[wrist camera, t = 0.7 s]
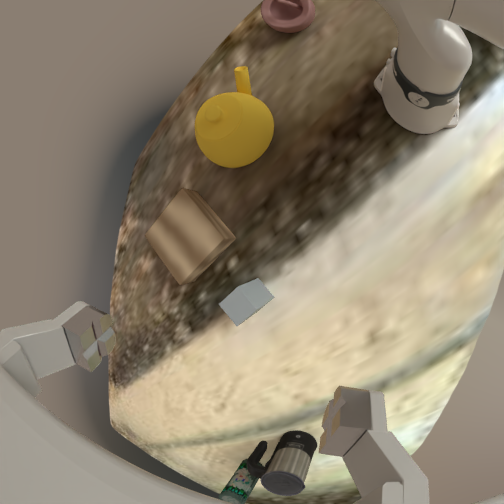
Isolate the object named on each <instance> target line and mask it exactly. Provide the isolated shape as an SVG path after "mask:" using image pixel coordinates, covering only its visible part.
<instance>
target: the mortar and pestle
mask: <svg viewBox="0 0 504 504" xmlns="http://www.w3.org/2000/svg"><path fill="white" fill-rule="evenodd" d="M261 15H262V18H263V20H264V21H265V22H266V23H267V24H268V25H269V26H270V27H271V28H273V29H275V30H277V31H280V32H284V33H295V32H299V31H302V30H304V29H306V28H307V27H308V26H309V25H310V24H311V23H312V21H313V19H314V17H315V7H314V4H313V2H312V1H311V0H264V1H263V3H262V6H261Z"/></svg>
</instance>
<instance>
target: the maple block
mask: <svg viewBox="0 0 504 504" xmlns="http://www.w3.org/2000/svg"><path fill="white" fill-rule="evenodd" d="M145 237H146V238H147V240H148V241H149V242H150V244H151V245H152V247H153V248H154V250H155V251H156V253H157V254H158V255H159V257H160V258H161V260H162V261H163V263H164V264H165V265H166V267H167V268H168V270H169V271H170V272H171V274H172V275H173V277H174V278H175V279H176V281H177V282H178V283H179V285H183V284H186V283H190V282H193V281H195V280H196V279H197V278H198V277H199V276H200V275H201V274H202V273H203V272H204V271H205V270H206V269H207V268H208V267H209V266H210V265H211V264H212V263H213V262H214V261H215V260H216V259H217V257H218V256H219V255H220V254H221V253H222V252H223V251H224V250H225V249H226V248H227V247H228V246H229V245H230V244H231V243H232V242H233V241H234V240H235V239H236V237H235V236H234V235H233V234H232V232H231V231H230V230H229V229H228V228H227V226H226V225H225V224H224V223H223V222H222V221H221V219H220V218H219V217H218V216H217V215H216V213H215V212H214V211H213V210H212V209H211V208H210V206H209V205H208V204H207V203H206V202H205V200H204V199H203V198H202V197H201V196H200V194H199V193H198V192H197V191H193V190H189V189H184V188H182V189H181V190H180V191H179V193H178V194H177V195H176V196H175V197H174V199H173V200H172V201H171V202H170V204H169V205H168V206H167V207H166V209H165V210H164V211H163V212H162V214H161V215H160V216H159V218H158V219H157V220H156V221H155V223H154V224H153V225H152V227H151V228H150V229H149V231H148V232H147V233H146V235H145Z"/></svg>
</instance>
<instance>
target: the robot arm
mask: <svg viewBox="0 0 504 504" xmlns="http://www.w3.org/2000/svg"><path fill="white" fill-rule="evenodd" d="M375 1H376V2H378V3H379V4H380V5H381V6H382V7H383V8H384V9H385V11H386V12H387V13H388V14H389V15H390V17H391V18H392V20H393V21H394V23H395V25H396V27H397V31H398V48H393V50H392V52H391V57H392V58H391V59H388V60H387V62H386V64H387V65H386V66H385V67H384V69H383V70H382V71H381V72H380V74H379V75H378V76H377V78H376V79H375V81H374V87H375V88H376V90H377V91H378V92H379V93H380V94H381V96H382V98H383V102H384V105H385V107H386V109H387V111H388V113H389V114H390V116H391V117H392V118H393V119H394V120H395V121H396V122H397V123H398V124H399V125H401V126H402V127H404V128H406V129H407V130H410V131H412V132H415V133H420V134H430V133H434V132H437V131H439V130H441V129H442V128H445V127H446V128H451V127H456V126H457V124H458V117H459V105H460V104H459V91H460V89H461V86H462V79H463V78H464V76H465V74H466V72H467V71H468V69H469V67H470V65H471V62H472V50H471V47H470V44H469V42H468V40H467V38H466V36H465V34H464V33H463V31H462V30H461V28H460V27H459V26H461V27H463V28H465V29H467V30H469V31H471V32H473V33H475V34H477V35H479V36H480V37H482V38H484V39H486V40H488V41H489V42H491V43H493V44H495V45H496V46H498V47H500V48H503V49H504V0H375ZM381 80H382V81H381ZM453 116H454V117H453ZM112 324H113V321H112V317H111V316H110V315H108V314H107V313H104V312H102V311H100V310H98V309H96V308H95V307H93V306H90V305H88V304H86V303H84V302H83V301H79V302H76V303H75V304H74V305H72V306H71V307H70V308H68V309H67V310H66V311H64V312H63V313H62V314H60V315H59V316H58V317H57V318H55V319H54V320H50V319H49V320H44V321H39V322H35V323H30V324H26V325H20V326H16V327H11V328H6V329H3V330H2V331H0V504H233V503H230V502H226V501H222V500H219V499H216V498H213V497H209V496H206V495H203V494H200V493H197V492H194V491H192V490H189V489H187V488H184V487H181V486H179V485H176V484H174V483H171V482H169V481H166V480H164V479H162V478H160V477H157V476H155V475H153V474H151V473H149V472H147V471H144V470H143V469H140V468H138V467H137V466H135V465H133V464H131V463H129V462H127V461H125V460H123V459H121V458H120V457H118V456H116V455H114V454H113V453H111V452H109V451H107V450H106V449H104V448H103V447H101V446H99V445H98V444H96V443H95V442H93V441H91V440H90V439H88V438H87V437H85V436H84V435H82V434H81V433H79V432H78V431H77V430H75V429H74V428H72V427H71V426H69V425H68V424H67V423H65V422H64V421H63V420H61V419H60V418H59V417H57V416H56V415H55V414H54V413H52V412H51V411H50V410H48V409H47V408H46V407H45V406H44V405H42V404H41V403H40V402H39V401H38V400H37V399H36V398H35V397H36V396H37V395H38V394H39V393H40V392H41V390H42V388H41V386H40V384H39V382H38V380H37V379H39V378H41V377H45V376H47V375H50V374H52V373H55V372H57V371H60V370H62V369H65V368H67V367H70V366H72V365H75V363H76V364H78V365H79V366H81V367H83V368H85V369H86V370H88V371H90V372H92V371H93V370H94V369H95V368H96V367H97V366H98V364H100V362H101V357H102V356H105V355H108V354H109V353H110V352H111V351H112V349H113V347H114V345H115V339H116V337H115V332H114V331H113V329H112V328H111V326H112ZM322 427H323V429H324V430H325V431H324V433H323V434H322V436H321V437H320V446H319V453H321V454H327V455H334V456H341V457H343V460H344V462H345V464H346V466H347V468H348V470H349V472H350V474H351V476H352V478H353V480H354V482H355V484H356V486H357V488H358V490H359V492H360V494H361V496H362V499H360V500H358V501H357V502H355V503H353V504H429V487H428V478H427V477H426V476H425V475H424V473H423V472H422V471H421V469H420V468H419V467H418V466H417V464H416V463H415V462H414V460H413V459H412V458H411V456H410V455H409V454H408V453H407V451H406V450H405V449H404V447H403V446H402V445H401V444H400V442H399V441H398V440H397V438H396V437H395V436H394V435H393V433H392V432H387V420H386V410H385V401H384V394H383V393H382V392H379V391H371V390H364V389H357V388H350V387H344V386H339V387H338V388H337V389H336V391H335V392H334V399H333V400H331V401H329V403H328V405H327V407H326V410H325V412H324V416H323V421H322ZM472 504H504V493H502V494H500V495H497V496H494V497H491V498H488V499H485V500H482V501H479V502H476V503H472Z"/></svg>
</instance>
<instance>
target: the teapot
mask: <svg viewBox="0 0 504 504" xmlns="http://www.w3.org/2000/svg"><path fill="white" fill-rule="evenodd" d="M234 72H235V79H236V86H237V92H229V93H223V94H219V95H216V96H214V97H212V98H210V99H209V100H207V101H206V102H205V103H204V104H203V105H202V106H201V108H200V109H199V111H198V113H197V116H196V120H195V135H196V140H197V143H198V145H199V147H200V149H201V151H202V152H203V153H204V155H205V156H206V157H207V158H208V159H209V160H211V161H212V162H214V163H216V164H218V165H220V166H223V167H227V168H238V167H242V166H245V165H248V164H250V163H252V162H254V161H255V160H257V159H258V158H259V157H260V156H261V155H262V154H263V153H264V152H265V151H266V149H267V148H268V146H269V144H270V142H271V140H272V137H273V132H274V121H273V117H272V114H271V112H270V110H269V109H268V107H267V106H266V105H265V104H264V103H263V102H262V101H260V100H259V99H257V98H255V97H253V96H252V93H251V87H250V80H249V74H248V68H247V67H245V66H242V67H237V68H235V69H234Z"/></svg>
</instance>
